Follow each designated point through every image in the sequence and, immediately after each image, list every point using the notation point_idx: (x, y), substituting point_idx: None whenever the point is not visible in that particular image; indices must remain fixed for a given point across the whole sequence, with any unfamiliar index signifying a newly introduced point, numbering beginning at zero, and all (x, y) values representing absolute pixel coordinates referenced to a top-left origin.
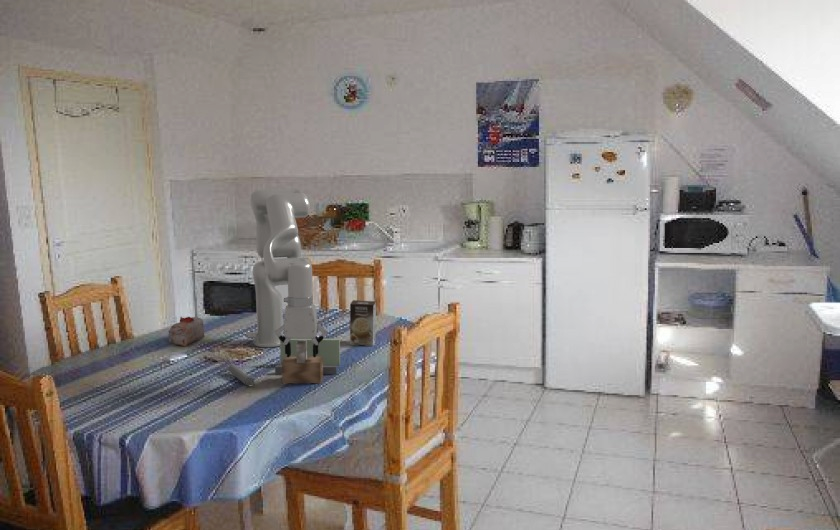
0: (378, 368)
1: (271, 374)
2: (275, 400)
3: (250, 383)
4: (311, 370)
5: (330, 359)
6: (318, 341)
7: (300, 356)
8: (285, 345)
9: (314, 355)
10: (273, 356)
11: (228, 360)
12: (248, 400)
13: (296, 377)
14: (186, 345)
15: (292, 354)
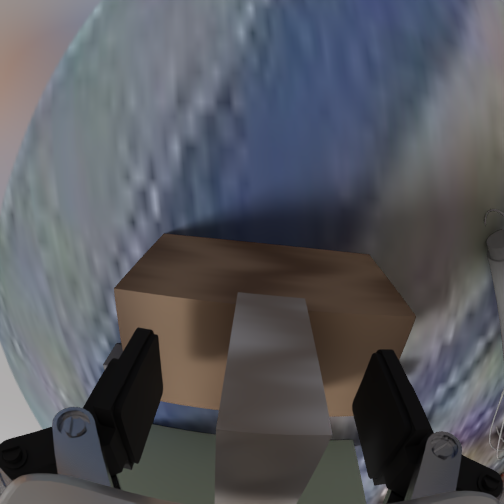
0: (13, 363)
1: (401, 365)
2: (384, 16)
3: (499, 238)
4: (196, 269)
5: (159, 444)
6: (54, 440)
7: (273, 328)
8: (430, 435)
9: (139, 337)
10: (362, 481)
11: (491, 429)
12: (489, 57)
13: (298, 260)
14: (502, 474)
15: (313, 474)
